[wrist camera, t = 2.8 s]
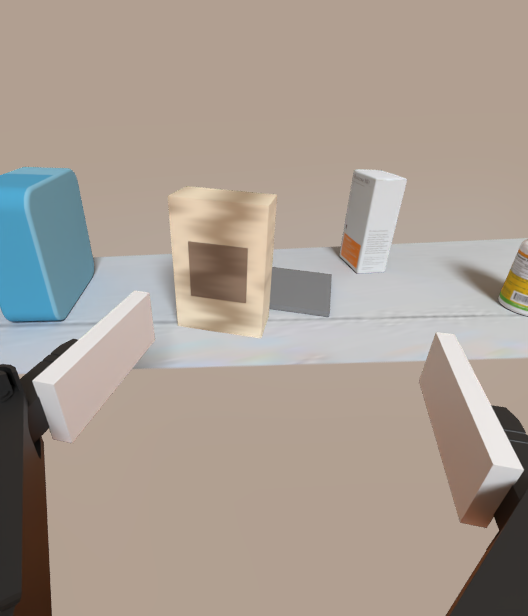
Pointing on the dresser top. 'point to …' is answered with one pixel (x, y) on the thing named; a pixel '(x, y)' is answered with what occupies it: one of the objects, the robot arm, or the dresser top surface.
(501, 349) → the dresser top surface
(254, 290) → the maple block
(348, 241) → the skincare box
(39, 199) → the data package
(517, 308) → the supplement bottle
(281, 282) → the charcoal mat
